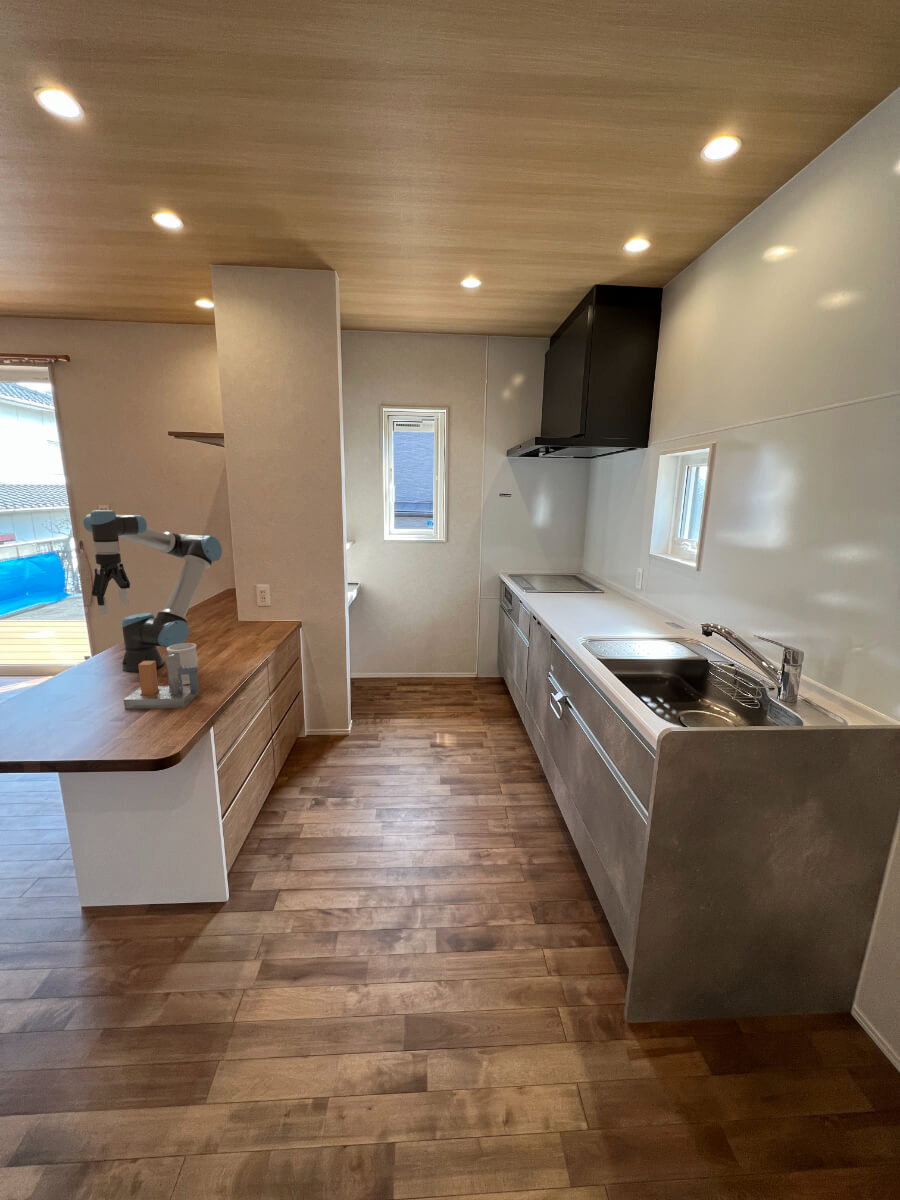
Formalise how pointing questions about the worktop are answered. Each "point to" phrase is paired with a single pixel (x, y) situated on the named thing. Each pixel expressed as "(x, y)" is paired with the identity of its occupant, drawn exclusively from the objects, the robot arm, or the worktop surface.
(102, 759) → the worktop surface
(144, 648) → the robot arm
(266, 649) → the worktop surface
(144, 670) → the orange square bar
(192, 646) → the jar
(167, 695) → the plate with square hole
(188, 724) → the worktop surface
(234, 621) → the worktop surface
